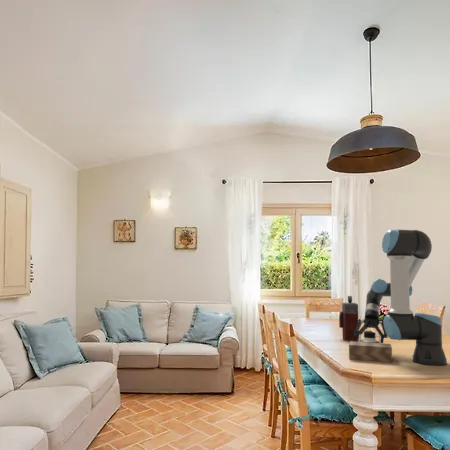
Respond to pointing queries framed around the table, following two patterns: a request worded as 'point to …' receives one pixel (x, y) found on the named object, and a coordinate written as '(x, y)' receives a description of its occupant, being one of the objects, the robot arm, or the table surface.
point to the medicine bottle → (369, 337)
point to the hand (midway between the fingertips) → (369, 346)
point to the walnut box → (370, 351)
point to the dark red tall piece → (349, 319)
